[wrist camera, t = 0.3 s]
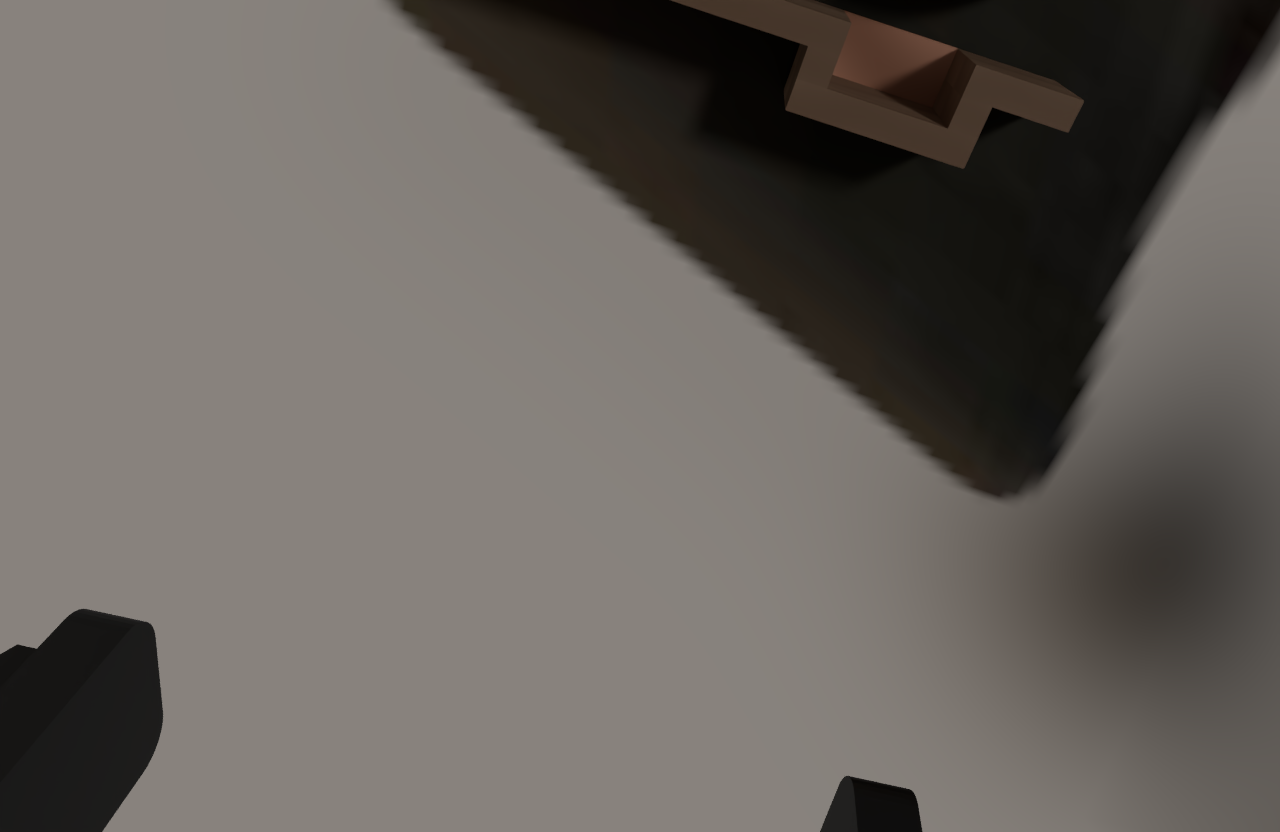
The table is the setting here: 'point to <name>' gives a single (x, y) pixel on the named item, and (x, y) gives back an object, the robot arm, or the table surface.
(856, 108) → the box
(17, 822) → the robot arm
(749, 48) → the table surface
